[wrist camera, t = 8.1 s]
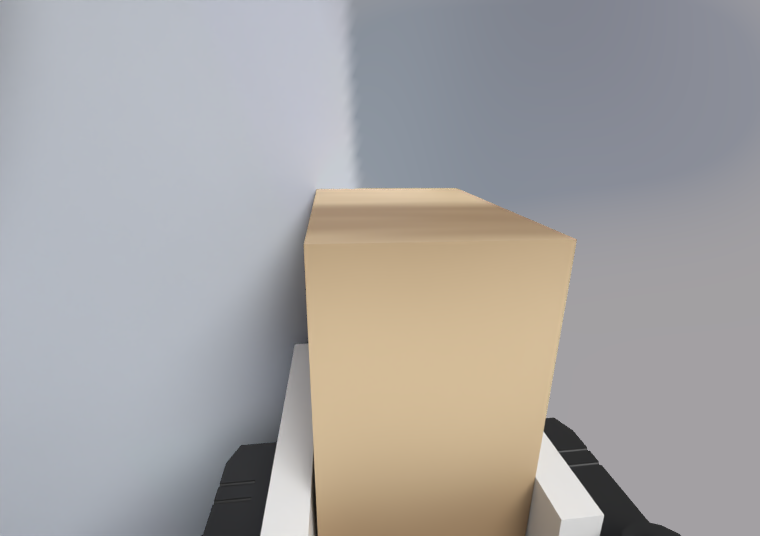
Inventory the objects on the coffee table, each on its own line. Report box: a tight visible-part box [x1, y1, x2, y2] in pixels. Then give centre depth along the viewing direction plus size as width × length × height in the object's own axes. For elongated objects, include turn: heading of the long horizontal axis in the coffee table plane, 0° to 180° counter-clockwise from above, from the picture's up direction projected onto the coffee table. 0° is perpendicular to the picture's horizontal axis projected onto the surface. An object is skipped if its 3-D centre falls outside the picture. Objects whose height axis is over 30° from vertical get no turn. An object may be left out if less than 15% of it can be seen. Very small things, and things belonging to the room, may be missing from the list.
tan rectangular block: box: [304, 188, 577, 536], centre depth 10 cm, size 12×4×6 cm, turn 179°
